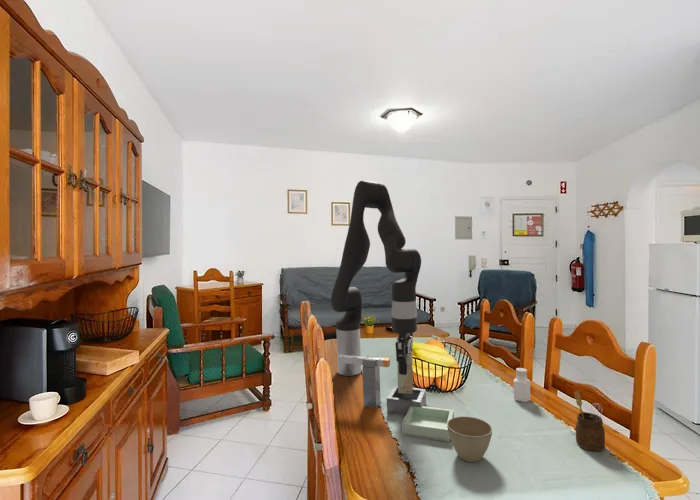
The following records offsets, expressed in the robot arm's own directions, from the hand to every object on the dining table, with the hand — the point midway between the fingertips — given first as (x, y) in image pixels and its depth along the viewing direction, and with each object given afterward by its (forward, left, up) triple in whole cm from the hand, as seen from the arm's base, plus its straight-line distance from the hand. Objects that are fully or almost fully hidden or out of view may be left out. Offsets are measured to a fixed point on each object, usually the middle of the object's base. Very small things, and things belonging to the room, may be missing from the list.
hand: (405, 370), depth 115 cm
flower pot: (+21, +19, -12) cm, 31 cm away
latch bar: (0, -13, +1) cm, 13 cm away
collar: (0, 0, -11) cm, 11 cm away
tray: (+10, +8, -11) cm, 17 cm away
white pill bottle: (-16, +33, -12) cm, 39 cm away
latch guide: (0, -11, -11) cm, 16 cm away
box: (0, 0, -6) cm, 6 cm away
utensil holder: (+8, +46, -12) cm, 48 cm away
